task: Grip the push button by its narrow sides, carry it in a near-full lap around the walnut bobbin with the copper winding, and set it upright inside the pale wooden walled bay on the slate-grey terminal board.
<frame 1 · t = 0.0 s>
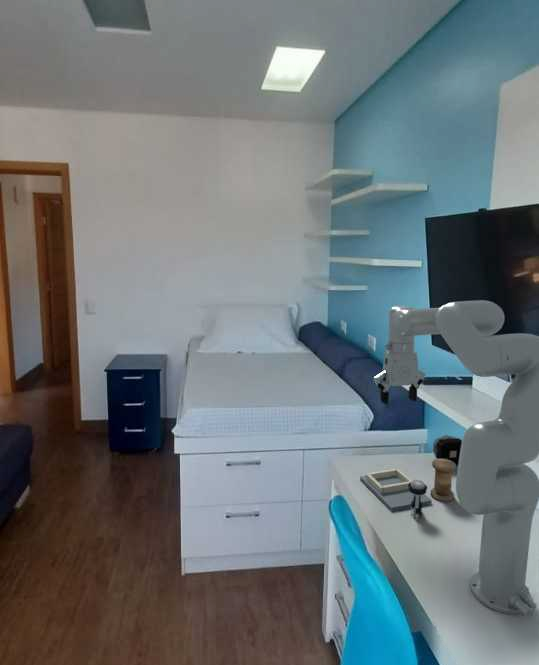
hand: (398, 401, 144), 31 cm above the table, tool pointing down, fingers open, 9 cm apart
push button: (416, 515, 138), on the table
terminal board: (394, 491, 151), on the table
cpu cooler: (448, 464, 170), on the table
bobbin: (442, 495, 148), on the table
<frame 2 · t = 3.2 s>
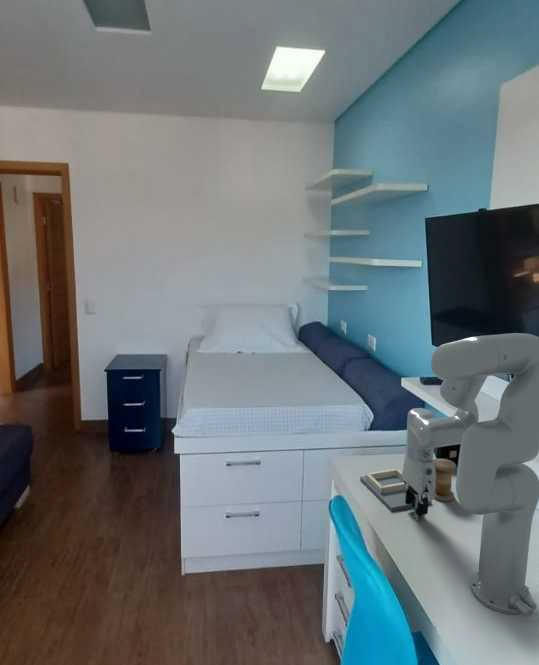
hand: (416, 508, 138), 2 cm above the table, tool pointing down, fingers closed on push button, 5 cm apart
push button: (416, 516, 138), on the table, touching gripper
everything else where it was.
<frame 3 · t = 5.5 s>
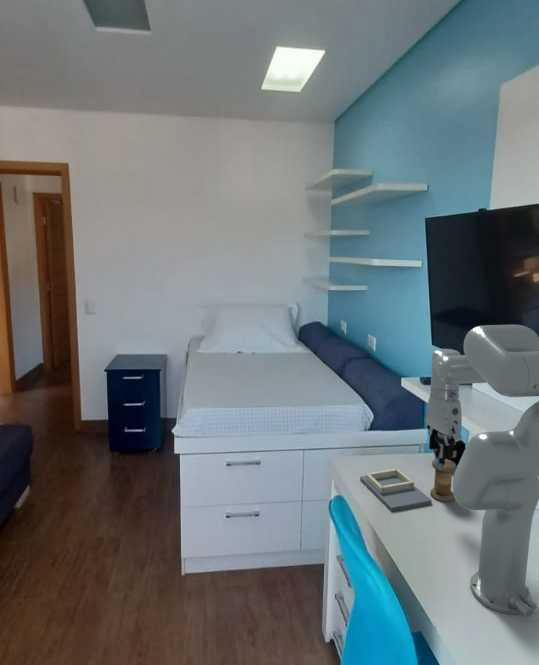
hand: (440, 452, 136), 19 cm above the table, tool pointing down, fingers closed on push button, 5 cm apart
push button: (438, 465, 137), point 15 cm above the table, touching gripper
everything else where it was.
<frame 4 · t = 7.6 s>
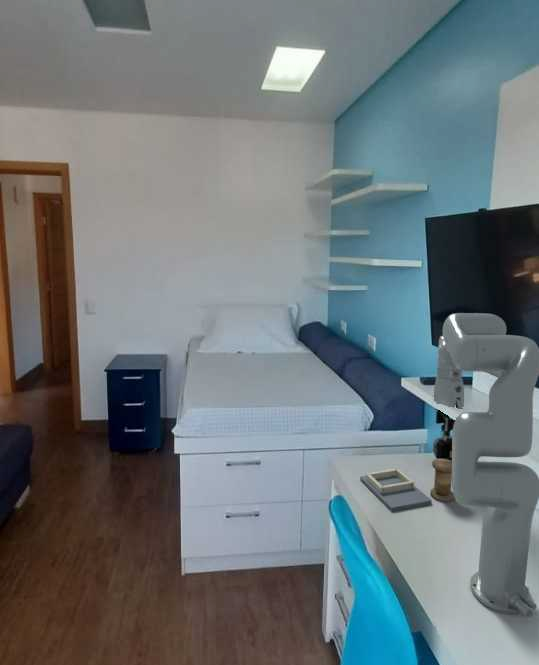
hand: (446, 425, 154), 20 cm above the table, tool pointing down, fingers closed on push button, 5 cm apart
push button: (444, 437, 156), point 15 cm above the table, touching gripper
everything else where it was.
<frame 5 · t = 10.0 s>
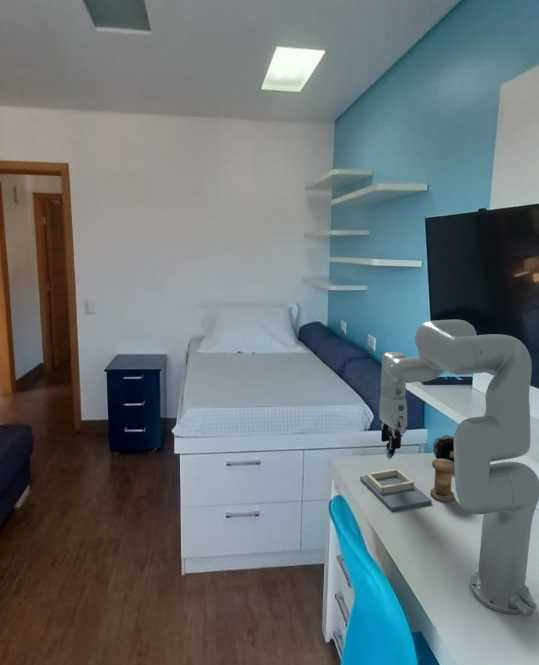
hand: (390, 444, 152), 15 cm above the table, tool pointing down, fingers closed on push button, 5 cm apart
push button: (389, 456, 153), point 11 cm above the table, touching gripper
everything else where it was.
when the fingers open (5 cm above the table, at t = 12.2 s): push button stays where it is, point 1 cm above the table.
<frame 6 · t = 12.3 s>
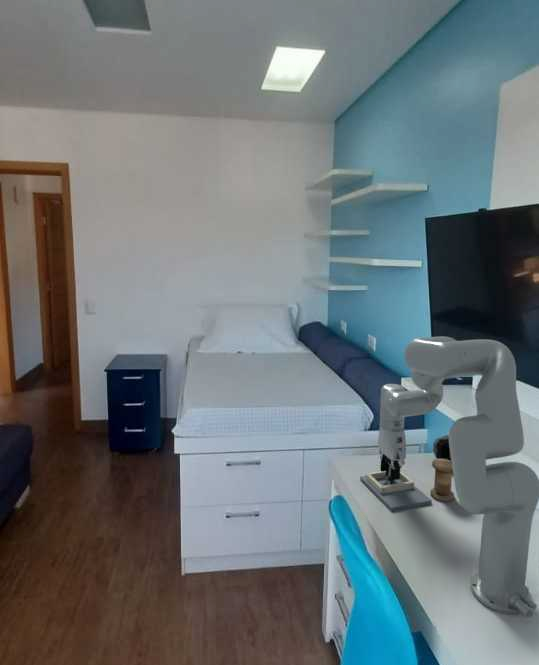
hand: (389, 474, 153), 4 cm above the table, tool pointing down, fingers open, 5 cm apart
push button: (388, 483, 154), point 1 cm above the table, touching gripper
everything else where it was.
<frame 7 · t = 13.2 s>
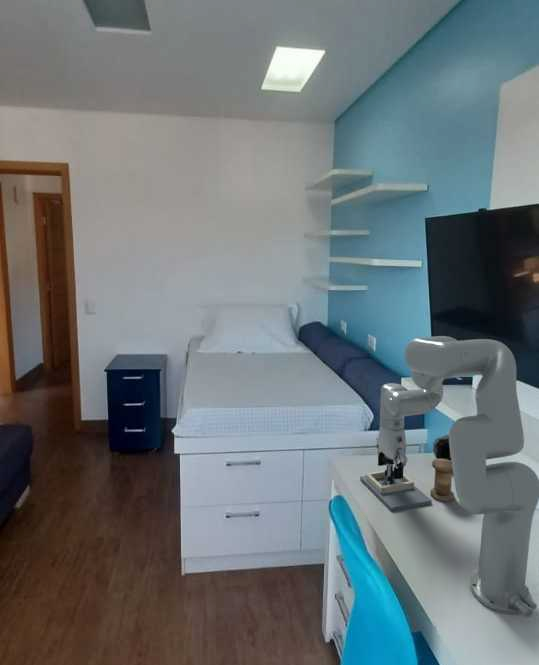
hand: (390, 471, 153), 5 cm above the table, tool pointing down, fingers open, 9 cm apart
push button: (388, 483, 154), point 1 cm above the table, touching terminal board
everything else where it was.
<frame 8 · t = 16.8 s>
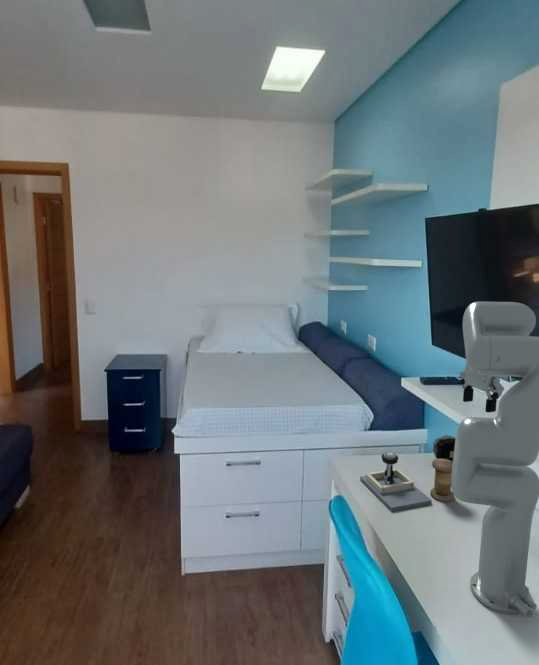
hand: (478, 406, 141), 30 cm above the table, tool pointing down, fingers open, 9 cm apart
nothing on the table moved.
at the end: push button 0.3 cm from the target spot on the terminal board, point 1.0 cm above the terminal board's base; push button tilted 0°; the gripper is holding nothing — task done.
